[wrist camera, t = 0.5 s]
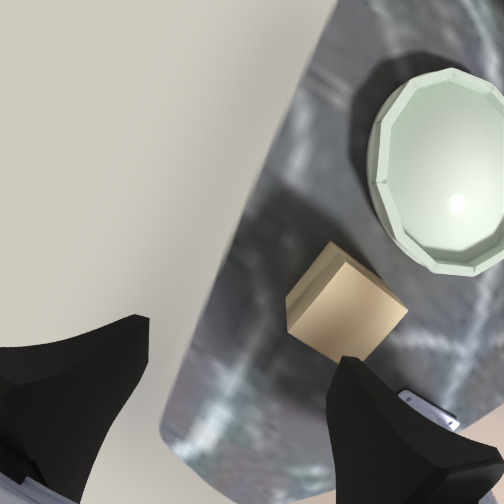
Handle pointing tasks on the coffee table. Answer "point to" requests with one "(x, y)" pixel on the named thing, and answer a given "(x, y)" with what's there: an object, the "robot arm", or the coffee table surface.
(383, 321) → the birch block
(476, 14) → the coffee table surface
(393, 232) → the celadon dish
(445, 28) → the coffee table surface
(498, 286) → the coffee table surface
